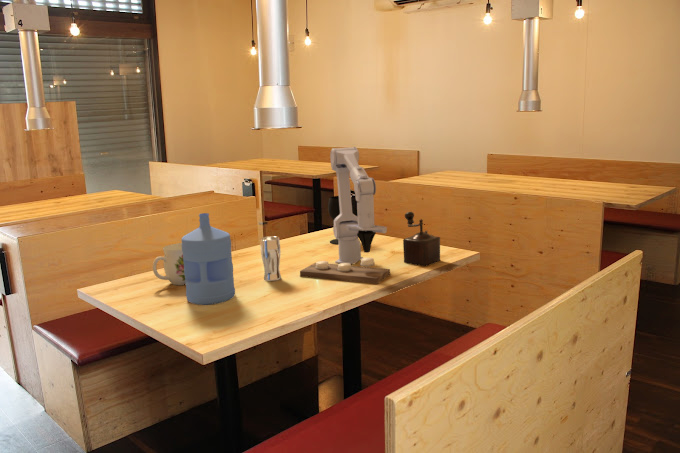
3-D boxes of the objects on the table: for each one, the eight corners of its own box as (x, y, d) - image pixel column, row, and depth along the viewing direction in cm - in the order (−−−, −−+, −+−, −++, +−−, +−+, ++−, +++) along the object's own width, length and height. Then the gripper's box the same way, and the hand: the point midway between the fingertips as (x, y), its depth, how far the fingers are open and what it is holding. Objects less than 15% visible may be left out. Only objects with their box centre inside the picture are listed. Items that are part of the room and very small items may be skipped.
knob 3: (363, 262, 219) (363, 256, 219) (376, 263, 217) (376, 258, 217) (358, 266, 215) (357, 260, 215) (371, 267, 213) (371, 261, 212)
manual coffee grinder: (442, 260, 236) (441, 214, 232) (425, 266, 228) (424, 219, 224) (409, 254, 246) (408, 210, 242) (392, 260, 238) (391, 215, 234)
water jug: (193, 291, 210) (186, 210, 204) (239, 289, 209) (233, 208, 204) (180, 306, 195) (172, 219, 189) (230, 305, 194) (222, 217, 188)
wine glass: (327, 244, 269) (325, 199, 264) (331, 239, 279) (329, 195, 274) (351, 244, 267) (349, 199, 263) (354, 239, 277) (353, 195, 273)
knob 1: (319, 265, 228) (319, 260, 227) (331, 266, 226) (331, 261, 225) (313, 269, 223) (312, 263, 223) (325, 270, 221) (325, 264, 221)
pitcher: (148, 285, 219) (144, 248, 216) (193, 274, 230) (190, 239, 227) (162, 292, 211) (158, 253, 208) (208, 280, 222) (205, 243, 219)
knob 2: (341, 267, 224) (341, 262, 223) (353, 268, 222) (353, 263, 221) (335, 271, 220) (335, 265, 219) (348, 272, 217) (347, 266, 217)
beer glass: (279, 282, 216) (276, 240, 213) (260, 281, 218) (257, 240, 215) (284, 276, 223) (282, 236, 220) (266, 276, 225) (263, 235, 221)
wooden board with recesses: (315, 267, 233) (315, 262, 232) (390, 274, 220) (389, 269, 219) (300, 276, 222) (299, 270, 222) (377, 284, 209) (377, 278, 209)
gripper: (341, 214, 212) (343, 253, 215) (380, 216, 206) (382, 256, 209) (350, 211, 218) (351, 248, 221) (388, 212, 212) (389, 251, 215)
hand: (367, 251), depth 215 cm, fingers closed
